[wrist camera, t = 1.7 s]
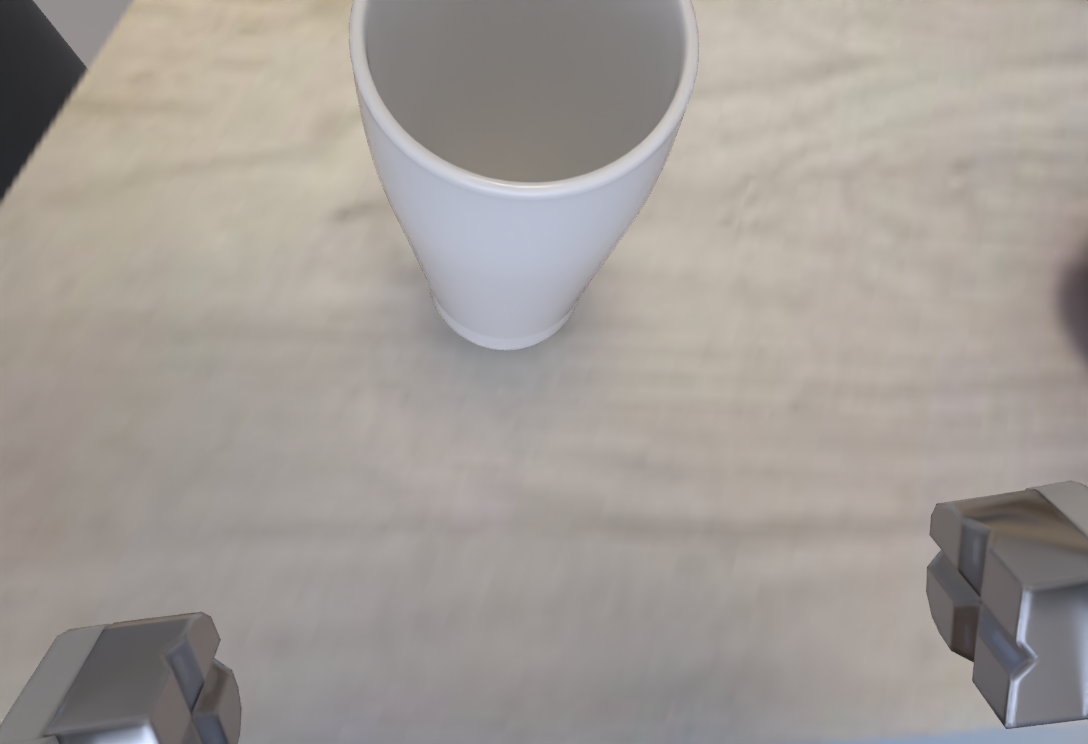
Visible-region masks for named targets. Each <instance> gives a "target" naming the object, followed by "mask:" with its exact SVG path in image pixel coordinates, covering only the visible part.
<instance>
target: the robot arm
mask: <svg viewBox="0 0 1088 744" xmlns="http://www.w3.org/2000/svg"><path fill="white" fill-rule="evenodd" d="M930 536H931V537H932V538H933V540H934V541H935V542H936V543H937V545H938V546H939V547H940V549H941V550H940V552H939V553H938V554H937V555H936V557H935V558H934V559H933V560H932V562H931V563H930V564H929V565H928V567H927V586H926V592H927V597H928V601H929V606H930V611H931V615H932V618H933V620H934V622H935V624H936V626H937V629H938V631H939V633H940V635H941V636H942V638H943V639H944V641H945V642H946V644H947V645H948V647H949V648H950V650H951V651H953V652H955V653H957V654H959V655H961V656H962V657H964V658H966V659H968V660H970V661H972V662H974V667H973V677H972V681H973V683H974V684H975V686H976V687H977V688H978V690H979V691H980V693H981V694H982V696H983V697H984V698H985V700H986V701H987V703H988V704H989V705H990V707H991V708H992V710H993V711H994V713H995V714H996V715H997V717H998V718H999V720H1000V721H1001V722H1002V724H1003V725H1004V727H1005V728H1006V729H1011V728H1019V727H1027V726H1036V725H1044V724H1052V723H1060V722H1068V721H1077V720H1085V719H1088V487H1086V486H1085V485H1083V484H1080V483H1077V482H1074V481H1066V482H1060V483H1054V484H1049V485H1043V486H1037V487H1031V488H1026V489H1025V490H1023V491H1017V492H1010V493H1003V494H997V495H990V496H984V497H977V498H971V499H964V500H957V501H951V502H944V503H938V504H936V506H935V508H934V511H933V513H932V515H931V524H930ZM220 640H221V639H220V637H219V634H218V632H217V630H216V627H215V625H214V623H213V620H212V618H211V616H209V615H207V614H205V613H203V612H195V613H187V614H179V615H171V616H163V617H155V618H147V619H139V620H132V621H124V622H116V623H113V624H103V625H96V626H88V627H81V628H74V629H69V630H67V631H65V632H64V633H62V634H60V635H58V636H57V637H56V639H55V640H54V642H53V643H52V645H51V646H50V648H49V649H48V651H47V653H46V654H45V656H44V657H43V659H42V660H41V662H40V664H39V665H38V667H37V668H36V670H35V671H34V673H33V675H32V676H31V678H30V679H29V681H28V682H27V684H26V686H25V687H24V689H23V690H22V692H21V693H20V695H19V697H18V698H17V700H16V701H15V703H14V704H13V706H12V707H11V709H10V711H9V712H8V714H7V715H6V717H5V718H4V720H3V722H2V723H1V725H0V744H238V740H239V737H240V725H241V702H240V696H239V690H238V686H237V683H236V680H235V677H234V674H233V671H232V670H231V669H229V668H228V667H226V666H225V665H224V664H222V663H221V662H219V661H218V660H216V659H215V658H214V656H215V654H216V651H217V648H218V646H219V643H220Z"/></svg>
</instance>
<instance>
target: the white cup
mask: <svg viewBox="0 0 1088 744" xmlns="http://www.w3.org/2000/svg"><path fill="white" fill-rule="evenodd" d="M349 48H350V58H351V63H352V67H353V73H354V80H355V86H356V92H357V97H358V102H359V107H360V112H361V117H362V122H363V126H364V131H365V135H366V139H367V142H368V146H369V149H370V152H371V156H372V159H373V162H374V165H375V168H376V171H377V174H378V177H379V179H380V182H381V184H382V187H383V189H384V192H385V194H386V196H387V198H388V201H389V203H390V205H391V207H392V209H393V212H394V214H395V216H396V218H397V220H398V222H399V224H400V226H401V228H402V230H403V232H404V234H405V236H406V238H407V240H408V242H409V244H410V246H411V248H412V250H413V252H414V254H415V256H416V258H417V260H418V262H419V265H420V267H421V269H422V271H423V273H424V275H425V277H426V279H427V282H428V285H429V290H430V294H431V297H432V300H433V302H434V305H435V307H436V309H437V310H438V312H439V314H440V315H441V317H442V318H443V320H444V321H445V322H446V323H447V324H448V326H449V327H451V328H452V329H453V330H454V331H455V332H456V333H457V334H459V335H460V336H461V337H463V338H465V339H466V340H468V341H470V342H472V343H474V344H476V345H479V346H482V347H486V348H490V349H495V350H517V349H522V348H527V347H530V346H533V345H536V344H538V343H540V342H542V341H544V340H546V339H547V338H549V337H550V336H552V335H553V334H555V333H556V332H557V331H558V330H559V329H560V328H561V327H562V326H563V325H564V324H565V323H566V322H567V320H568V319H569V318H570V316H571V315H572V313H573V311H574V309H575V307H576V305H577V303H578V301H579V298H580V296H581V294H582V293H583V292H584V290H585V289H586V287H587V286H588V284H589V283H590V282H591V280H592V279H593V277H594V276H595V275H596V273H597V272H598V270H599V269H600V268H601V266H602V265H603V263H604V262H605V261H606V259H607V258H608V257H609V255H610V254H611V253H612V251H613V250H614V248H615V247H616V246H617V244H618V243H619V242H620V240H621V239H622V237H623V236H624V235H625V233H626V232H627V230H628V229H629V227H630V226H631V225H632V223H633V222H634V220H635V218H636V217H637V215H638V214H639V212H640V211H641V209H642V207H643V206H644V204H645V203H646V201H647V199H648V197H649V195H650V193H651V191H652V190H653V188H654V186H655V184H656V182H657V180H658V178H659V176H660V174H661V172H662V170H663V167H664V165H665V163H666V161H667V158H668V156H669V153H670V151H671V148H672V146H673V143H674V141H675V138H676V135H677V133H678V130H679V127H680V125H681V122H682V119H683V116H684V113H685V110H686V107H687V104H688V102H689V99H690V96H691V94H692V91H693V87H694V83H695V79H696V75H697V68H698V61H699V37H698V27H697V21H696V16H695V11H694V8H693V5H692V1H691V0H353V4H352V8H351V14H350V22H349Z"/></svg>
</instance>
